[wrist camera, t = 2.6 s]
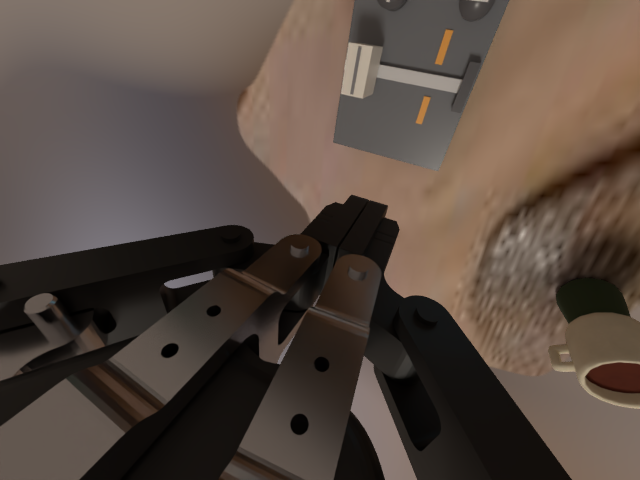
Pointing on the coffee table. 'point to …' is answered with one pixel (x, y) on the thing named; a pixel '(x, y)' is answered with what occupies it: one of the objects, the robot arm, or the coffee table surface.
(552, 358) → the character mug
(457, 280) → the coffee table surface
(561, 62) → the coffee table surface
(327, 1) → the coffee table surface
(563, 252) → the coffee table surface
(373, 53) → the fader cap
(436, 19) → the console board
